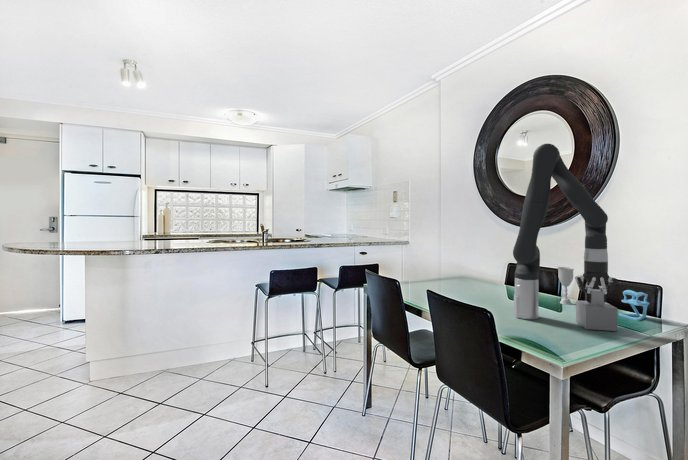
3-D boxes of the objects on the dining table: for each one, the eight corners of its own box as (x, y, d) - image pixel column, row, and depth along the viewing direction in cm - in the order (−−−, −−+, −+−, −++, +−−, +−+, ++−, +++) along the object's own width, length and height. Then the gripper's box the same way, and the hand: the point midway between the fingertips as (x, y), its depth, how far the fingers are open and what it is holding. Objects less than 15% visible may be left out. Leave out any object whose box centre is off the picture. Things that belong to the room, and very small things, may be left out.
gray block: (585, 329, 127) (585, 292, 127) (576, 321, 137) (575, 287, 136) (617, 331, 124) (617, 293, 124) (605, 323, 134) (605, 288, 133)
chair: (652, 319, 138) (652, 291, 138) (637, 321, 136) (637, 292, 136) (632, 314, 146) (632, 287, 145) (618, 315, 144) (618, 288, 144)
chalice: (574, 302, 167) (574, 267, 167) (574, 305, 161) (575, 269, 161) (557, 300, 171) (557, 266, 171) (557, 303, 165) (557, 268, 165)
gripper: (578, 260, 128) (578, 303, 129) (622, 261, 124) (622, 306, 124) (571, 258, 135) (571, 299, 136) (612, 259, 131) (612, 301, 131)
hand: (595, 302), depth 130 cm, fingers closed on gray block, 4 cm apart
